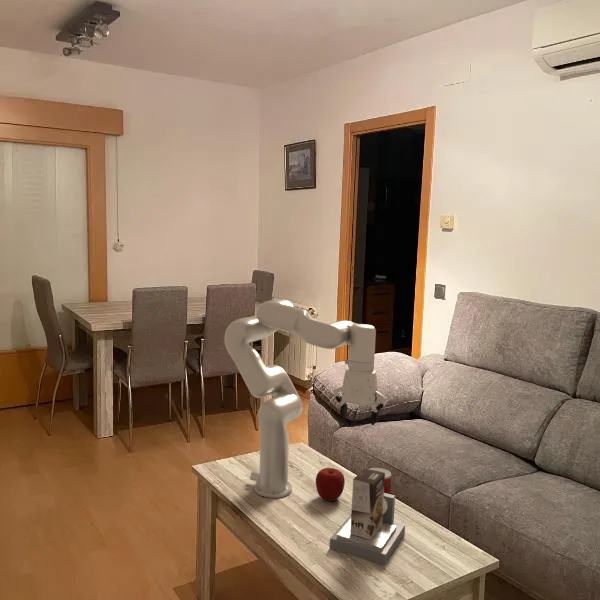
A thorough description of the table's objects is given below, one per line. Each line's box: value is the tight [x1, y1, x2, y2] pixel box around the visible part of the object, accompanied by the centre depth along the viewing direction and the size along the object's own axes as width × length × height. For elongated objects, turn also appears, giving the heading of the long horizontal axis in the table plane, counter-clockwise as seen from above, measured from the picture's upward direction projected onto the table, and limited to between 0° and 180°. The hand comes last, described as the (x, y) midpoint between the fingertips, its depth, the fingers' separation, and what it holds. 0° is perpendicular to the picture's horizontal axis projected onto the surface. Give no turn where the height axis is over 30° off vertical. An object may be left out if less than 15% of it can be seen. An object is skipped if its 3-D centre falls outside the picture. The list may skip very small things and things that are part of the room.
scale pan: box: [337, 519, 396, 551], centre depth 162 cm, size 13×13×1 cm
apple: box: [315, 467, 346, 502], centre depth 188 cm, size 10×10×10 cm
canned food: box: [369, 467, 392, 494], centre depth 185 cm, size 8×8×11 cm
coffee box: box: [350, 468, 385, 540], centre depth 161 cm, size 9×6×16 cm
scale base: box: [329, 493, 406, 566], centre depth 163 cm, size 16×18×11 cm
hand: (358, 420), depth 174 cm, fingers open, 9 cm apart
